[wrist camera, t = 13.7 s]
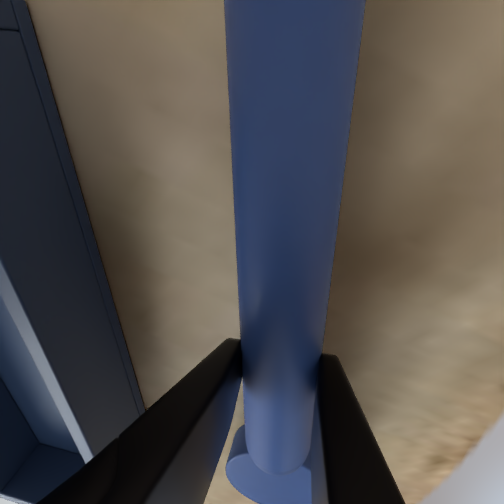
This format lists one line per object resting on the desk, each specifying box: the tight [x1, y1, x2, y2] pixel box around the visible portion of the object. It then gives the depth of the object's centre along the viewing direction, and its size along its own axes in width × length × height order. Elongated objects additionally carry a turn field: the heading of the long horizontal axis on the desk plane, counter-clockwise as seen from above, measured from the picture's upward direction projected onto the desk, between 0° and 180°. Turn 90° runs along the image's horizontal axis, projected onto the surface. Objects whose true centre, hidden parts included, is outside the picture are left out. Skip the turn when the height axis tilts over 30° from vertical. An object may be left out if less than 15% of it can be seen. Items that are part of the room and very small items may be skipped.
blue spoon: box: [224, 0, 366, 504], centre depth 8 cm, size 17×4×2 cm, turn 1°
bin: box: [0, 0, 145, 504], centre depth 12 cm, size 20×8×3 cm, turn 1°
